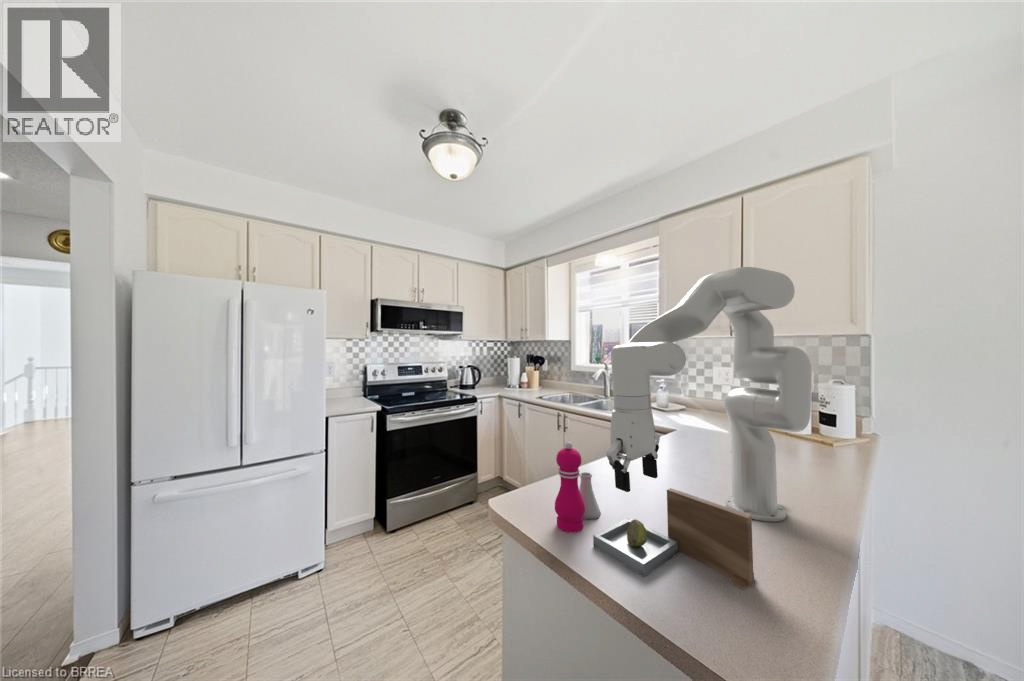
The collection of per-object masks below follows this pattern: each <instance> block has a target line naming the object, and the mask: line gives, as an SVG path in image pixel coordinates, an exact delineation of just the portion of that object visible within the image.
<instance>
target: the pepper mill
mask: <svg viewBox="0 0 1024 681" xmlns="http://www.w3.org/2000/svg"><path fill="white" fill-rule="evenodd" d="M556 464H557V466H558V476H559V478H560V487H559V490H558V493H557V496H556V498H555V501H554V511H555V513H556V515H557V516H556V526H557V528H558V529H559V530H560V531H562V532H565V533H572V534H573V533H579V532H580V531H583V529H584V518H582V516H583V515H584V513H585V504H584V501H583V498H582V496H581V494H580V491H579V489H580V486H579V483H578V482H579V481H578V480H579V478H580V471H581V470H580V469H579V468H580V467H581V465H582V456H581V453H580V452H579V451H578V450H577V449H575V448H573V443H572V442H571V441H567V442H565V444H564V448H561V449H560V450H559V451H558V452H557V454H556Z"/></svg>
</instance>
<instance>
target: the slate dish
mask: <svg viewBox="0 0 1024 681" xmlns="http://www.w3.org/2000/svg"><path fill="white" fill-rule="evenodd" d="M632 520H633V519H630V518H626V519H623V520H621V521H619V522H617V523H616V524H614V525H612V526H610V527H607V528H605V529H603V530H601V531H599V532H596V533H595V534H593V536H592V537H593V542H592V543H593V548H595V549H597V550H598V551H599V552H601V553H603V554H605V555H606V556H609V558H611V559H613V560H614V561H617V562H618V563H619V564H621V565H623V566H624V567H626V568H628V569H629V570H631V571H633V572H634V573H636V574H638V575H639V576H641V577H643V578H645V577H647V576H649V575H650V574H651V573H652V572H654V571H656V570H657V569H659V567H661V566H663V565H664V564H666V563H667V562H669V561H670V560H672V559H673V558H674V557H676V556H677V555H678V550H677V549H678V542H677V541H675V540H673V539H670V538H668V536H666V535H664V534H662V533H660V532H658V531H655V530H653V529H651V528H649V527H646V526H645V525H644V527H645V529H646V532H647V540H646V543H645V544H644V545H642V546H639V547H634V546H630V545H629V543H628V541H627V530H628V525H629V524H630V522H631V521H632Z"/></svg>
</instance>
